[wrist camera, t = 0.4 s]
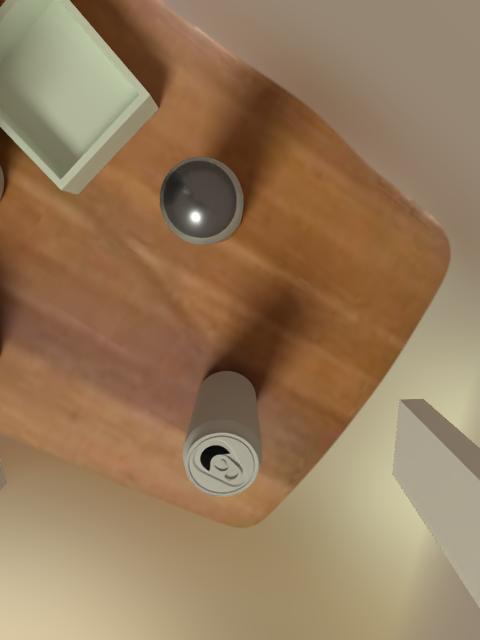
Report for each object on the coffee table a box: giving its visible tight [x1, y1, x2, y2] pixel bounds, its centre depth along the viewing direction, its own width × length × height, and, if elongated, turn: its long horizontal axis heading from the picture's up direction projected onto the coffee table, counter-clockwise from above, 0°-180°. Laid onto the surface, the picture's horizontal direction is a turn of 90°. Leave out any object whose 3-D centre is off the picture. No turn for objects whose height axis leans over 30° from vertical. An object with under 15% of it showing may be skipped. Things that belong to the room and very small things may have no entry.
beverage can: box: [183, 371, 262, 497], centre depth 32 cm, size 6×6×12 cm
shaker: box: [160, 157, 244, 245], centre depth 27 cm, size 6×6×12 cm
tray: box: [0, 0, 159, 195], centre depth 29 cm, size 12×11×3 cm
